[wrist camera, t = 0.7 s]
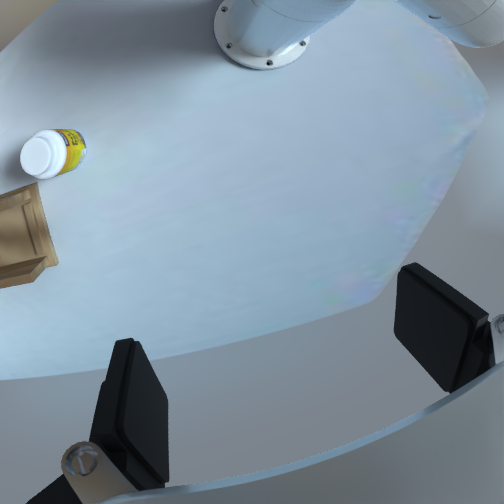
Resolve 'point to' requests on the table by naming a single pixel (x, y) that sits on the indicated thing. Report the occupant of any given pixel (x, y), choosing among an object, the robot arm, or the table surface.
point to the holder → (23, 237)
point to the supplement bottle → (53, 152)
